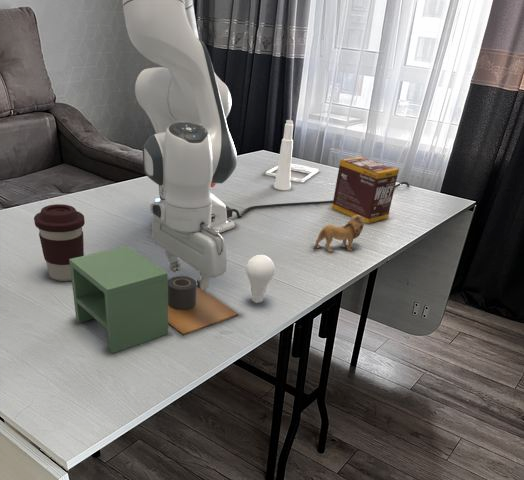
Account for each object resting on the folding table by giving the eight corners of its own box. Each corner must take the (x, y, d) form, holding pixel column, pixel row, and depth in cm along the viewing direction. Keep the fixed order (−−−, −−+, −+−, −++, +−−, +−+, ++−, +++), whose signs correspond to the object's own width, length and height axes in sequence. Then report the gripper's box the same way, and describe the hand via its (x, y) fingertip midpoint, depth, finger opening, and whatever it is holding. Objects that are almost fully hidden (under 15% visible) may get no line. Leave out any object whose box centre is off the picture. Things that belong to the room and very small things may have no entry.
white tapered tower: (274, 184, 191) (281, 117, 178) (291, 186, 190) (299, 120, 178) (272, 189, 186) (279, 121, 173) (289, 191, 185) (298, 123, 173)
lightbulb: (242, 295, 120) (246, 249, 114) (269, 296, 121) (274, 250, 115) (244, 308, 115) (248, 261, 109) (272, 310, 116) (277, 263, 110)
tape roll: (185, 293, 118) (185, 273, 115) (201, 305, 114) (202, 284, 111) (161, 300, 114) (161, 280, 111) (178, 312, 110) (178, 292, 108)
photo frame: (318, 168, 208) (302, 179, 194) (318, 171, 209) (302, 182, 195) (283, 161, 212) (265, 171, 198) (283, 164, 213) (265, 174, 199)
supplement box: (368, 224, 165) (378, 172, 157) (331, 208, 174) (339, 159, 166) (388, 218, 171) (400, 168, 163) (352, 203, 180) (361, 155, 172)
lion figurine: (353, 242, 152) (359, 211, 147) (363, 250, 148) (370, 218, 143) (308, 247, 146) (312, 215, 141) (318, 255, 142) (323, 222, 137)
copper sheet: (182, 278, 124) (182, 276, 124) (238, 315, 113) (238, 313, 112) (129, 293, 116) (129, 292, 116) (182, 335, 104) (182, 333, 104)
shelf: (130, 303, 113) (127, 245, 105) (168, 333, 104) (167, 273, 97) (76, 320, 105) (69, 259, 98) (112, 353, 97) (107, 289, 90)
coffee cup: (64, 289, 115) (55, 221, 107) (32, 275, 119) (22, 209, 111) (99, 274, 122) (93, 209, 114) (68, 261, 126) (60, 198, 118)
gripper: (236, 229, 100) (232, 295, 108) (171, 196, 111) (172, 257, 119) (209, 237, 96) (207, 304, 104) (145, 201, 108) (147, 264, 116)
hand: (188, 279), depth 112 cm, fingers open, 8 cm apart
